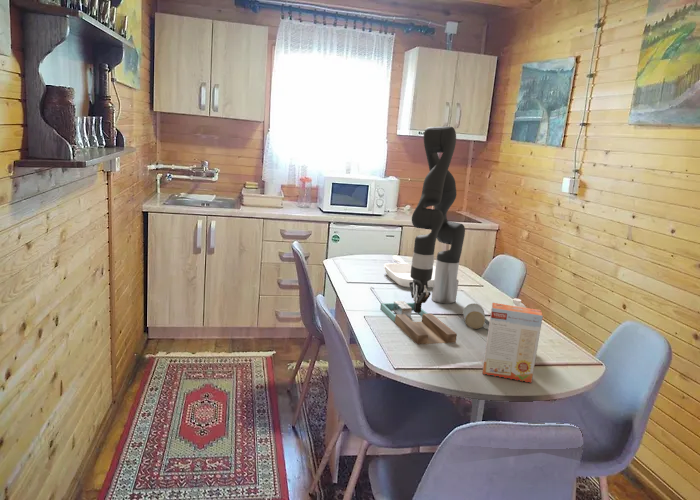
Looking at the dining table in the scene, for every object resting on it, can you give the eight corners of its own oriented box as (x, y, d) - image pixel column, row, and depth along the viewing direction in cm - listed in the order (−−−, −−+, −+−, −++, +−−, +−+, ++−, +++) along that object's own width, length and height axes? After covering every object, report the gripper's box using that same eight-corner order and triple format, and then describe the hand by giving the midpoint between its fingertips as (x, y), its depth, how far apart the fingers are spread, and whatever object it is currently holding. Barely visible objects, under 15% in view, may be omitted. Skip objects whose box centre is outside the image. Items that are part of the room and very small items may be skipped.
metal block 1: (402, 310, 204) (403, 300, 203) (406, 314, 200) (408, 304, 199) (392, 311, 202) (394, 301, 201) (397, 314, 199) (398, 304, 198)
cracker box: (530, 375, 159) (542, 309, 154) (531, 384, 153) (543, 315, 149) (482, 366, 162) (492, 301, 157) (481, 374, 157) (492, 307, 152)
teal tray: (413, 310, 207) (414, 302, 207) (429, 323, 194) (430, 315, 194) (380, 310, 203) (380, 303, 202) (393, 324, 190) (394, 316, 189)
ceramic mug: (463, 328, 192) (466, 308, 190) (461, 321, 200) (465, 301, 198) (493, 333, 191) (496, 313, 189) (490, 325, 199) (493, 305, 197)
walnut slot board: (430, 323, 194) (431, 313, 193) (455, 345, 176) (456, 333, 176) (394, 325, 190) (395, 314, 189) (416, 347, 172) (418, 335, 171)
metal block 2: (406, 314, 200) (407, 304, 199) (410, 318, 196) (412, 308, 195) (396, 314, 199) (397, 304, 198) (400, 318, 195) (402, 308, 194)
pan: (399, 289, 233) (400, 279, 232) (369, 263, 273) (369, 254, 272) (455, 289, 241) (456, 279, 240) (417, 263, 281) (418, 255, 280)
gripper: (440, 270, 180) (434, 318, 185) (423, 260, 192) (418, 305, 197) (420, 271, 178) (415, 319, 182) (404, 260, 190) (399, 305, 194)
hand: (416, 312), depth 189 cm, fingers closed
